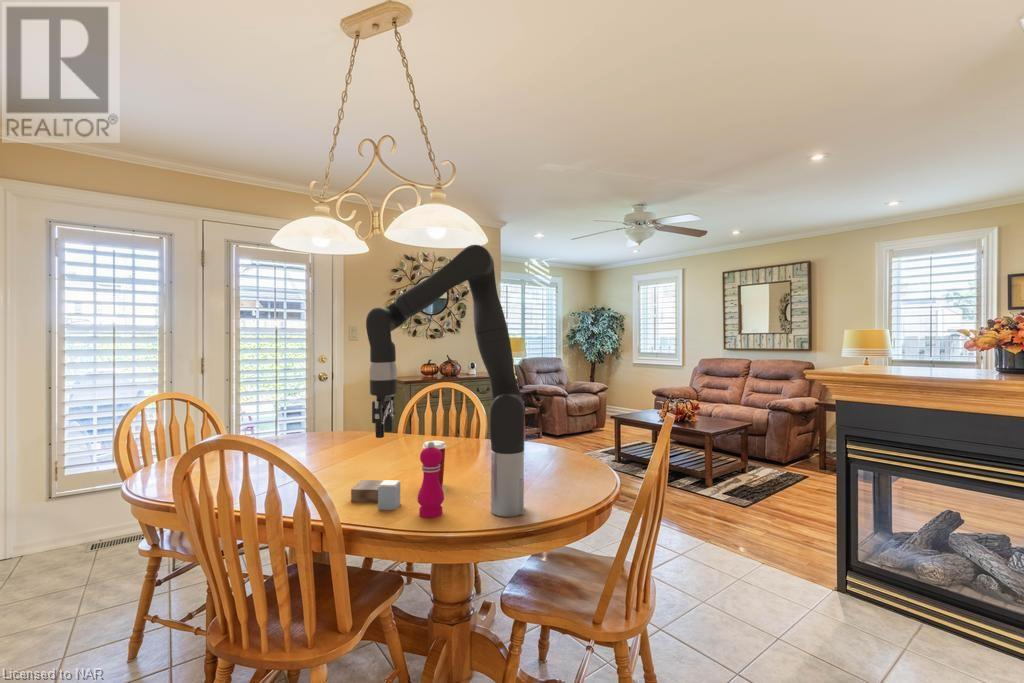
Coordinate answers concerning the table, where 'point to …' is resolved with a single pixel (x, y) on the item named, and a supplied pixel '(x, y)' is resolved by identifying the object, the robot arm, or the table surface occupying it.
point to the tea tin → (389, 495)
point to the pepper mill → (430, 483)
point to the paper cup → (441, 447)
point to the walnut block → (365, 491)
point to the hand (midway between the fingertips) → (384, 434)
